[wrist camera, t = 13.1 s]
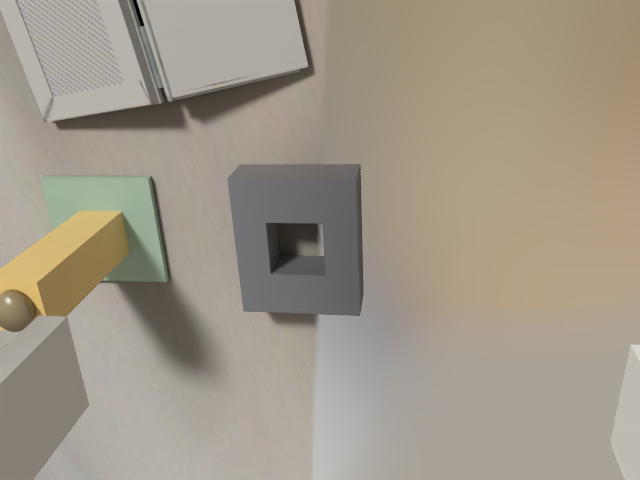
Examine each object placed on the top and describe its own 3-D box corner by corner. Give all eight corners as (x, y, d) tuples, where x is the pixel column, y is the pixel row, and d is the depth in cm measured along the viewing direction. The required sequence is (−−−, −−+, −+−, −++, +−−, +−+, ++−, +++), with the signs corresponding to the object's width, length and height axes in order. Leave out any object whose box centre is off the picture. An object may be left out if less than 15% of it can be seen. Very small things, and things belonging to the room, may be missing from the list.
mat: (44, 176, 53) (40, 178, 52) (150, 176, 51) (148, 178, 51) (69, 276, 57) (66, 279, 57) (168, 279, 56) (166, 282, 55)
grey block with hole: (239, 164, 50) (227, 178, 47) (360, 164, 48) (355, 178, 45) (253, 291, 55) (243, 311, 52) (363, 294, 53) (359, 315, 50)
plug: (79, 210, 53) (-26, 288, 41) (121, 211, 53) (28, 290, 40) (88, 251, 55) (-10, 337, 42) (129, 252, 54) (42, 340, 42)
